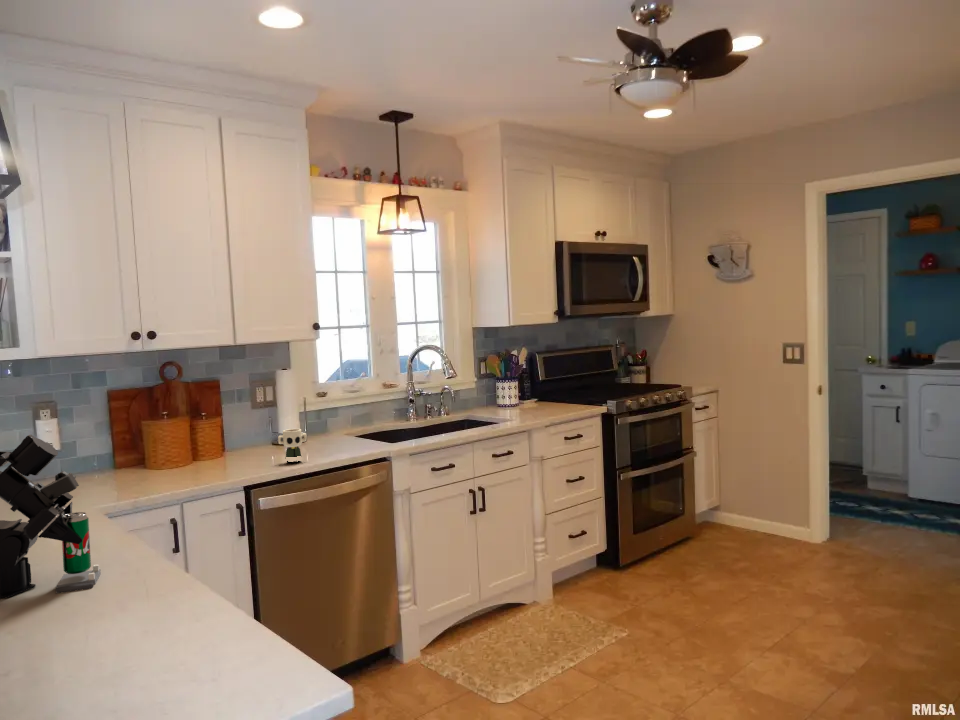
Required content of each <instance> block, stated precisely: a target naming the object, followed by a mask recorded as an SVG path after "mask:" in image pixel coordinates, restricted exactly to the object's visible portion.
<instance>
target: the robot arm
mask: <svg viewBox="0 0 960 720" xmlns="http://www.w3.org/2000/svg"><path fill="white" fill-rule="evenodd" d="M58 455H59V452H58V451H57V449H56V448H55V447H54V446H53V445H52V444H50V443H49V442H48V441H47V442H46V441H44V440H43V439H40V438H38V437H35V436H34V435H32V434H29V435H27V436H26V437H25V438H24V439H23V440H21V443H20V444H19V445H18V446H17V447H16V448H15V449H13V451H1V450H0V468H1V467H3V466H5V465H7V464H9V463H10V464H9V465H8V466H7V467H6V468H5V469H4V470H3V471H2V470H0V499H1V500H3V501H4V502H5V503H7V504H8V505H9V506H11V507H10V509H9V510H11V511H12V512H14V513H15V512H16V511H18V512H19V513H21V514H22V515H23V516H25V517H26V518H28V520H27V521H22V520H23V519H22V518H18V519H16V520H2V519H1V520H0V598H3V599H5V598H6V599H8V598H10V597H13V596H15V595H19V594H20V593H24V592H26V591H28V590H31V589H34V588H36V583H32V571H31V564H30V563H29V557H27V555H28V553H29V550H30V548H32V547H33V546H34V545H35V544H36V542H37V540H38V538H43V539H44V538H45V539H50V540H55V541H60V542H62V541H65V542H70V543H75V544H80V543H81V542H82V541H83V539H82V538H81V537H80V536H79V535H78V534H77V533H76V532H75V531H74V530H73V529H72V528H71V527H70V526H69V525H68V524H67V523H66V522H65V518H64V515H66V514H70V513H73V501H71V500H73V498H74V496H73V495H72V494H71V492H72V491H74V490H76V489H77V488H78V487H79V486H80V484H79V483H78V481H77V480H76V477H77V476H76V475H74V474H73V473H72V472H69V473H68V472H66V471H65V470H61V471H60V472H58V473H56V474H55V476H54V481H52V482H50V483H48V484H46V485H44V484H43V483H42V482H37V483H34V482H32V481H31V480H30V479H28V478H27V477H30V476H31V475H32V476H38V475H39V474H40V473H41V472H42V471H43V470H44V469H45V468H46V467H47V466H48V465H49V464H50V463H52V461H53V460H54V459H55V458H57V456H58ZM70 501H71V502H70ZM69 502H70V503H69ZM68 503H69V504H68ZM66 505H67V506H66Z"/></svg>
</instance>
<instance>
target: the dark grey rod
mask: <svg viewBox="0 0 960 720" xmlns="http://www.w3.org/2000/svg"><path fill="white" fill-rule="evenodd" d="M93 587H94V585H93V583H85V584H79V585H72V586H65V587H58V588H57V587H56V589H55V594H62V593H61V592H63V593H68V592H67V591H70V592H76V591H75V590H77V591H81V590H82V589H83V590H89V588H90V589H93Z"/></svg>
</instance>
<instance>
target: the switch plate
mask: <svg viewBox="0 0 960 720" xmlns="http://www.w3.org/2000/svg"><path fill="white" fill-rule="evenodd" d="M101 573H102V572H101V569H100V564H93V566H92V570H87V571H85V572H82V573H78V574H67V573H64V574H63V575H62V576H61V578H60V579H59V581H58V582H57V584H56V588H58V587H65V586H72V585H79V584H85V583H93V586H94V585H96V584H97V582H98V581H99V577H100V576H101V575H102V574H101Z"/></svg>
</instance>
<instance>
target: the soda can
mask: <svg viewBox="0 0 960 720" xmlns="http://www.w3.org/2000/svg"><path fill="white" fill-rule="evenodd" d="M64 518H65V522H66V523H67V524H68V525H69V526H70V527H71V528H72V529H73V530H74V531H75V532H76V533H77V534H78V535H79V536H80V537H81V538H82V539H83V541H82V542H81V543H80V544H75V543H70V542H65V541H61V548H62V566H63V567H62V568H63V570H62V571H63V572H64V574H78V573H82V572H85V571H90V568H91V567H92V559H91V556H92V555H91V540H90V538H91V537H90V524H89V523H90V519H89V516H88V515H87V513H86V512H85V511H84V512H83V511H79V512H77V511H76V512H72V513H70V514H66V515H64Z"/></svg>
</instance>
